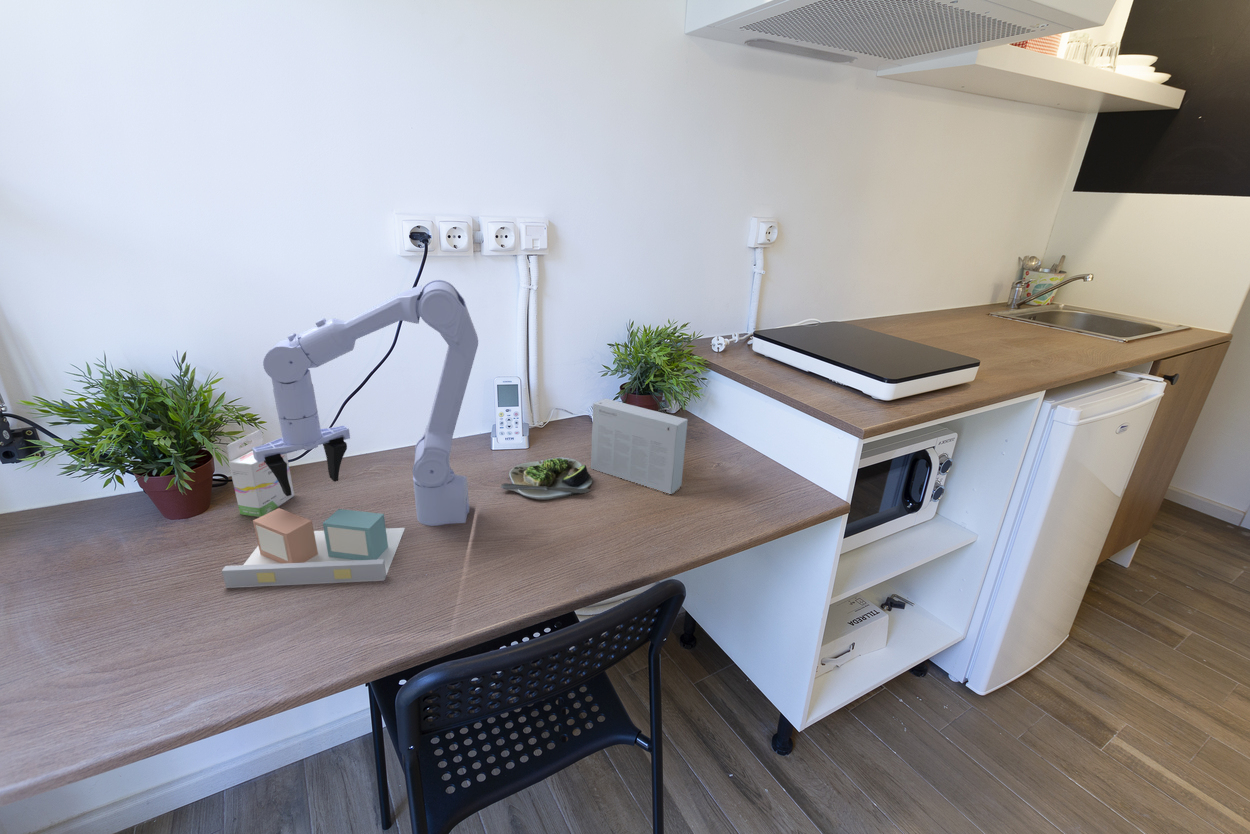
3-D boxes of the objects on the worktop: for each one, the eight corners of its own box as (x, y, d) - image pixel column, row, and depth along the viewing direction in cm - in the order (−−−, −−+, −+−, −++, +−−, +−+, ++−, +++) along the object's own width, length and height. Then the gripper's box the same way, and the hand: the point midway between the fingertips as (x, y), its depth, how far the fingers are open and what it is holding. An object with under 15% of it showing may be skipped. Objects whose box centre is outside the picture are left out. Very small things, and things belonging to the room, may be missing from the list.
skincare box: (683, 486, 126) (689, 418, 120) (671, 496, 122) (677, 426, 116) (603, 460, 136) (605, 396, 130) (589, 468, 132) (590, 403, 126)
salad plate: (510, 513, 114) (509, 492, 112) (491, 473, 129) (490, 454, 127) (602, 497, 121) (603, 477, 119) (574, 461, 136) (575, 443, 134)
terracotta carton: (285, 540, 100) (278, 508, 97) (318, 554, 97) (311, 520, 94) (259, 555, 96) (251, 521, 94) (292, 569, 93) (285, 534, 90)
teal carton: (344, 541, 100) (339, 508, 98) (388, 546, 100) (383, 513, 97) (328, 557, 96) (322, 523, 94) (373, 562, 95) (368, 529, 93)
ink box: (263, 522, 107) (247, 449, 101) (240, 518, 107) (222, 446, 102) (297, 499, 115) (283, 430, 109) (275, 496, 115) (260, 427, 110)
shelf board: (405, 532, 105) (403, 513, 104) (384, 585, 92) (382, 564, 90) (269, 537, 102) (265, 517, 101) (226, 593, 88) (220, 571, 87)
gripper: (256, 432, 88) (272, 509, 93) (352, 409, 98) (363, 481, 103) (242, 418, 93) (258, 493, 98) (336, 398, 103) (346, 467, 108)
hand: (311, 486), depth 101 cm, fingers open, 7 cm apart
